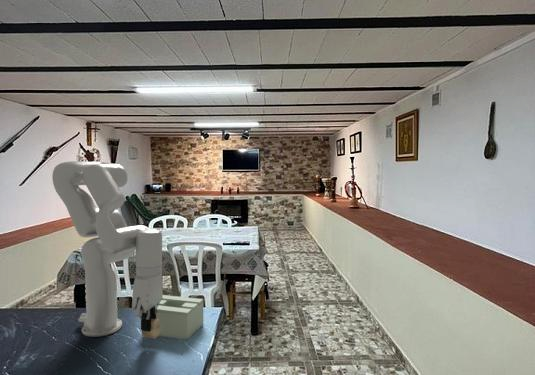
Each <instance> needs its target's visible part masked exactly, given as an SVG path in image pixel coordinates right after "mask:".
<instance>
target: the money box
mask: <svg viewBox="0 0 535 375" xmlns="http://www.w3.org/2000/svg"><path fill="white" fill-rule="evenodd" d="M144 312H145V313H146V311H144ZM156 319H159V332H160V335H159V336H158V337H162V338H170V339H175V340H176V339H177V340H184V341H189V339H190V338H191V337H192V336H193V335H195V333H197V331H198V330H199V329H200V328H201V327H203V325H204V298H195V297H189V296H188V297H186V296H177V295H166V294H163V296H162V300H161V302H160V303H159V305H158V307H157V314H156Z"/></svg>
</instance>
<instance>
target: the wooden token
mask: <svg viewBox="0 0 535 375" xmlns="http://www.w3.org/2000/svg"><path fill="white" fill-rule="evenodd" d="M159 335H160V332H159V319H151V331H150V332H148V331H142V330H141V337H142V338H147V339H156V338H158V337H160V336H159Z"/></svg>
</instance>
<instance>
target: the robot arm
mask: <svg viewBox="0 0 535 375" xmlns="http://www.w3.org/2000/svg"><path fill="white" fill-rule="evenodd" d="M128 176H129V175H128V173H127V170H126V169H125V168H124V167H123V166H122V165H120V164H118V163H111V162H104V161H83V160H82V161H78V160H77V161H74V160H73V161H64V162H60V163H58V164H57V165H55V167H54V169H53V171H52V178H51V179H52V184H53V188H54V190H55V192H56V194H57V195H58V196H59V198H60V199H61V201H62V202H63V204H64V205H65V206H66V210H67V212H68V214H69V216H70V219H71V221H72V223H73V226H74V228H75V231H76V233H77V234H78V235H79V236H80V237H82V238H91V239H89V240H87V241H85V242H84V244H83V245H82V246H81V250H80V251H81V252H80V253H81V258H82V263H83V268H84V278H85V279H84V280H85V302H86V303H85V305H86V307H85V308H86V310H85V311H86V312H82V313H81V314H80V316H79V317H78V319H77V321H78V322H80V323H81V322H82V323H83V325H82V327H81V333H82V335H84V336H85V337H97V338H98V337H104V336H108V335H111V334H113V333H116V332H118V331H119V330H120V329H121V328H122V327H123V321H122V320H121V319H120V318H118V291H117V290H118V289H117V284H118V283H117V275H116V272H115V271H114V270H113V267H111V265H110V264H114V263H116V262H120V261H125V260H127V259H128V260H129V259H130V258H131V257H133V255H134V254H135V277H134V281H133V286H132V296H131V297H132V299H131V300H132V301H131V309H132V310H134V311H135V312H134V313H135V314H134V316H135V317H139V319H140V330H141V332H142V331H148V332H150V331H151V319H156V314H157V307H158V305H159V303H160V302H161V300H162V296H163V295H164V294H163V292H164V291H163V289H164V287H163V283H164V282H163V276H162V275H163V232H162V231H161V230H159V229H156V228H150V227H148V226H145V225H142V224H138V225H131V226H130V225H129V226H128V225H127V223H126V221H125V219H124V217H123V214H122V213H121V212H120V211H119V210H118V209H120V208H121V207H122V206H123V205H124V203H125V200H126V197H125V194H124V193H123V192H122V190H121V188H123V187H124V186H125V185H126V184H127V183H128ZM80 186H85V187H86V188H87V190H88V191H89V193H90V194H89V193H88V192H87V191H86V190H84V189H83V188H81V187H80ZM94 202H95V203H96V204H95V203H94ZM96 205H97V206H96ZM144 311H146V313H145V312H144Z"/></svg>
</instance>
